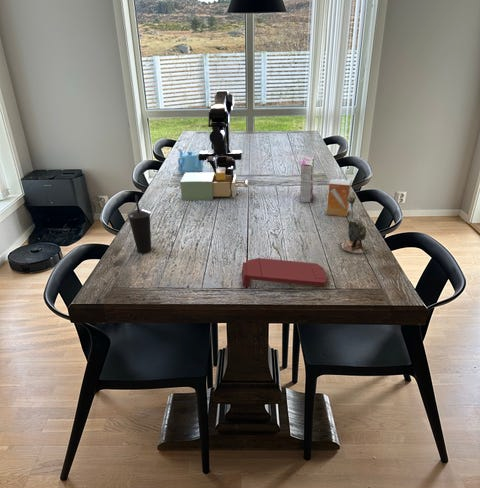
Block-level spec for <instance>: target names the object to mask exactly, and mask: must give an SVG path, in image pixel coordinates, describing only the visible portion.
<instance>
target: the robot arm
mask: <svg viewBox="0 0 480 488" xmlns="http://www.w3.org/2000/svg"><path fill="white" fill-rule="evenodd" d="M234 106H235V99H234V95H233V94H231V93H229V91H228V90H216V94H215V95H214V105H211V106H210V110H208V121H207V122H208V123H207V124H208V125H207V127H208V128H211V132H210V133H209V136H208V138H209V141H210V143H211V145H210V146H211V147H210V148H211V150H213V151H212V152H209V150H205V151H202V150H200V151H199V152H198V159H199V160H200V161H203V160H204V161H206V163H209V165H210V166H211V168H212V170H213V172H215V175H216V170H217V168H226V171H225V173H226V175H231V184H232V180H233V176H234V171H235V170H237V164H236V163H237V162H236V161H242V159H243V151H242V150H232V151H231V149H230V116H231V114H232V112H233V107H234Z"/></svg>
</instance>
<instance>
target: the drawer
mask: <svg viewBox="0 0 480 488" xmlns="http://www.w3.org/2000/svg"><path fill="white" fill-rule="evenodd" d="M248 186H249V180H248V179H246V180H237V173H236V174H234V173H233V180H232V183H231V175H226V178H225V180H216V175H214V178H213V181H212V190H213V196H214V197H231V196H232V198H236V195H237V190H238V187H244V188H248ZM231 194H232V195H231Z"/></svg>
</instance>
